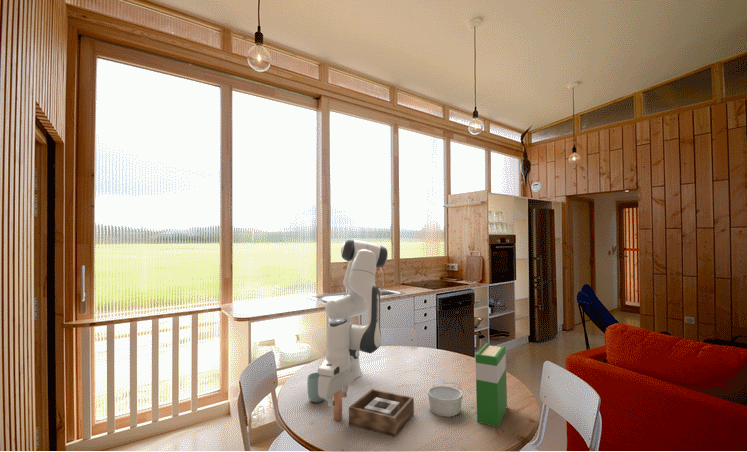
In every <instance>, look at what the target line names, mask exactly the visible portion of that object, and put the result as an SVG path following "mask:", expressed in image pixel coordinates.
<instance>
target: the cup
mask: <svg viewBox="0 0 747 452" xmlns="http://www.w3.org/2000/svg"><path fill="white" fill-rule="evenodd" d="M319 376H320V374H318V372H313V373H309V374H308V375H307V396H308V400H309V401H311V403H320V402H322V401H324V400H325V399H324V398H320V397H319V395H318V378H319Z"/></svg>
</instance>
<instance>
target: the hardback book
mask: <svg viewBox="0 0 747 452" xmlns="http://www.w3.org/2000/svg"><path fill="white" fill-rule="evenodd" d="M506 351H507V350H506V344H505V345H504V344H503V345H502V346H496V345H490V343H488V342H486V343H485V344H484V345H482V347H481V348H480V349H479V350H478V351H477V352H476V353H475V385H476V387H475V388H476V389H475V390H476V391H475V392H476V422H477V423H479V422H482V423H481V424H483V423H485V424H484V425H487V424H490V425H489V426H491V425H494V426H493V427H495V426H498V427H497V428H499V427H500V425H501V423H502V420H503V418H504V416H503V415H505V413H506V411H507V409H506V407H507V408H508V388H507V386H508V385H507V358H506V357H507V356H506ZM505 410H506V411H505ZM504 412H505V413H504ZM502 417H503V418H502ZM501 419H502V420H501ZM500 422H501V423H500ZM499 424H500V425H499Z"/></svg>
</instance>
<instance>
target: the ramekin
mask: <svg viewBox="0 0 747 452" xmlns="http://www.w3.org/2000/svg"><path fill="white" fill-rule="evenodd" d="M427 396H428V403H429V409H430V411H432V413H433V412H434V413H433V414H434V415H436V414H437V415H436V416H439V415H440V416H439V417H443V416H446V417H445V418H451V416H453V417H455V415H456V416H457V414H458V415H459V414H460V412H461V410H462V400H463V392H462V391H461V390H460V389H459V388H456V387H453V386H450V385H435V386H432V387H430V388H429V389H428V390H427Z"/></svg>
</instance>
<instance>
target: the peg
mask: <svg viewBox="0 0 747 452" xmlns="http://www.w3.org/2000/svg"><path fill="white" fill-rule="evenodd" d="M342 389H343V388H342ZM342 389H341V390H340V391H338V392H337V393H335V394H334V395H333V398H332V399H333V401H335V403H334V404H335V405H334V406H333V407H332V409H333V413H332V414H333V415H332V416H333V417H332V418H333V420H334V421H335V422H337V421H341V420H342V419H343V398H342Z"/></svg>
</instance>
